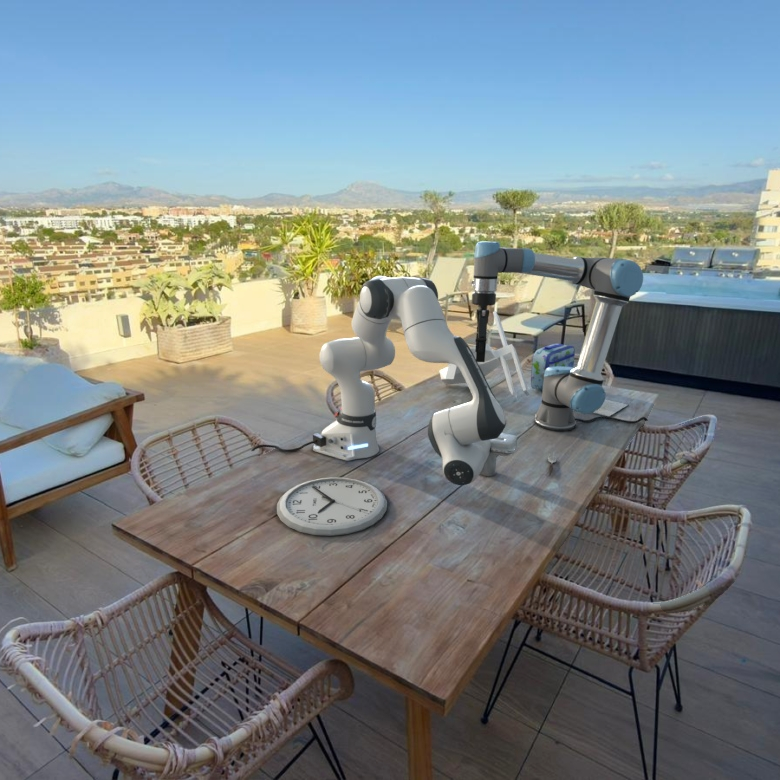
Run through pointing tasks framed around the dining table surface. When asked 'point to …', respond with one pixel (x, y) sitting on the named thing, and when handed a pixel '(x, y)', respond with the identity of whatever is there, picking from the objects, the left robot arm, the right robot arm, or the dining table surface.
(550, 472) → the fork
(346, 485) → the wall clock
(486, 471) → the bottle
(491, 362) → the white plastic object
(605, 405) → the invitation card
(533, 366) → the lunch box
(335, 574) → the dining table surface
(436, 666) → the dining table surface
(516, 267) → the right robot arm
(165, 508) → the dining table surface
